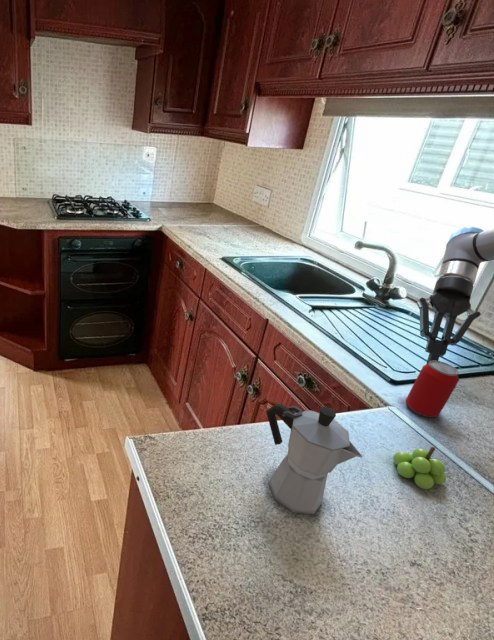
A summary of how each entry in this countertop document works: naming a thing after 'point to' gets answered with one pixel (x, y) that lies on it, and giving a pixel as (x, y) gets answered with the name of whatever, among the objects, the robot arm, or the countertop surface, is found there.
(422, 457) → the grape bunch
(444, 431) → the countertop surface
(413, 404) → the beverage can
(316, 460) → the coffee maker
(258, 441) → the countertop surface
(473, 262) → the robot arm
